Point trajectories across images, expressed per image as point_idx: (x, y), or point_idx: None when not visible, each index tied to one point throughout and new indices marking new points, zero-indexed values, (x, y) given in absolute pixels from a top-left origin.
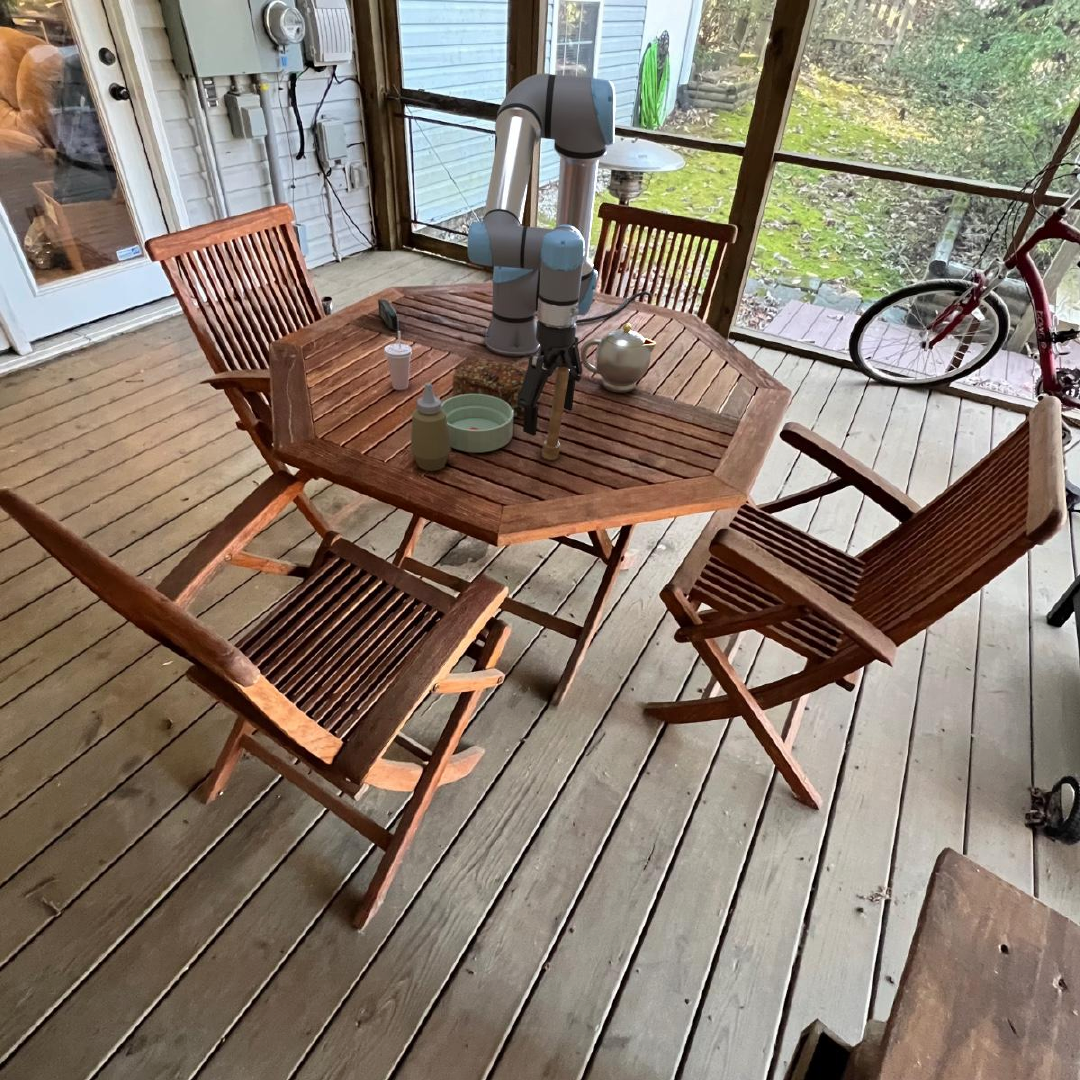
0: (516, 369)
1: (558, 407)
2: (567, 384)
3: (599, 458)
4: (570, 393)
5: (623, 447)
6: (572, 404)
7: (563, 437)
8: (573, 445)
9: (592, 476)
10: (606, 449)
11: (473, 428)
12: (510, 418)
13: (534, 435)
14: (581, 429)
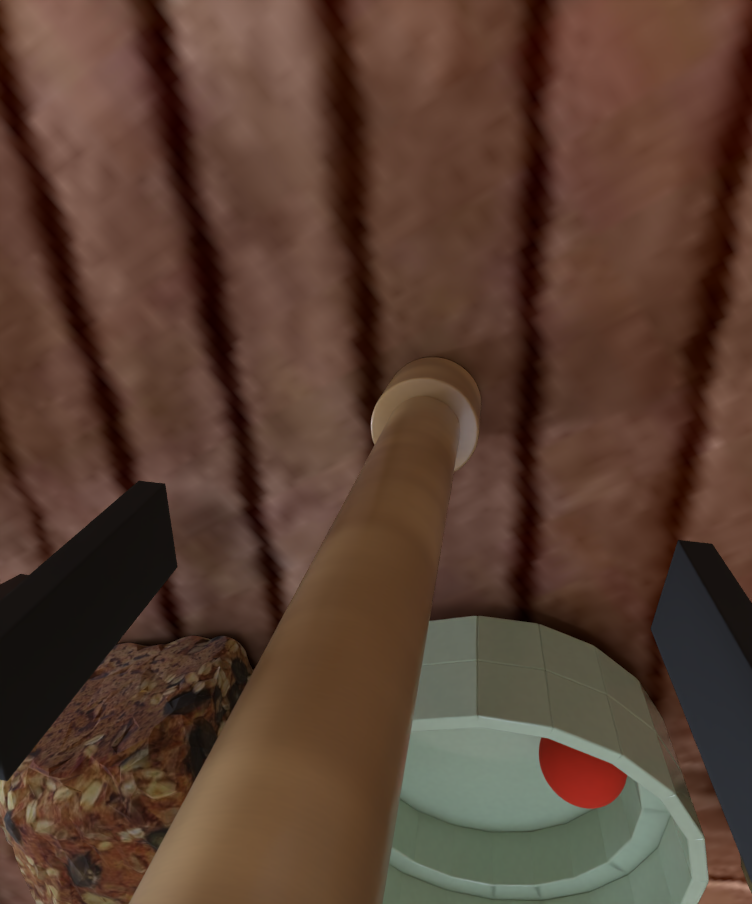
0: (68, 892)
1: (420, 579)
2: (20, 693)
3: (265, 136)
4: (71, 592)
5: (47, 68)
6: (115, 505)
7: (228, 429)
8: (255, 348)
9: (487, 48)
10: (149, 155)
11: (587, 801)
12: (439, 723)
13: (705, 545)
14: (96, 389)
